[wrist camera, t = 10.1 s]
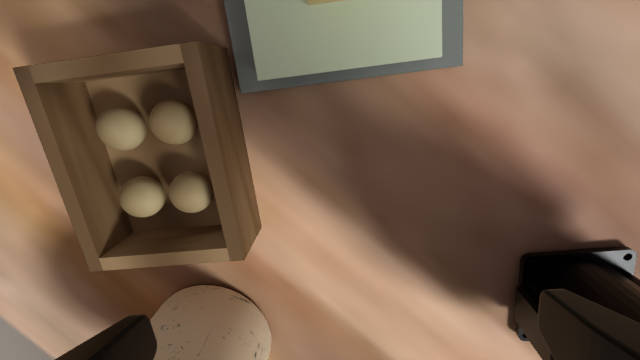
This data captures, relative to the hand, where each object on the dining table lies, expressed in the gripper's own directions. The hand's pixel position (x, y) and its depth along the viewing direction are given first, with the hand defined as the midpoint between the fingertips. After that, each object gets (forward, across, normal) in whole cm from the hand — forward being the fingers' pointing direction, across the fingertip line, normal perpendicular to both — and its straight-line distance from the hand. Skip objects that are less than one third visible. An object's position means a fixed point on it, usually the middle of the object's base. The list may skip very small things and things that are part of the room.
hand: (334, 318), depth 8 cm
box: (+13, +10, -2) cm, 17 cm away
